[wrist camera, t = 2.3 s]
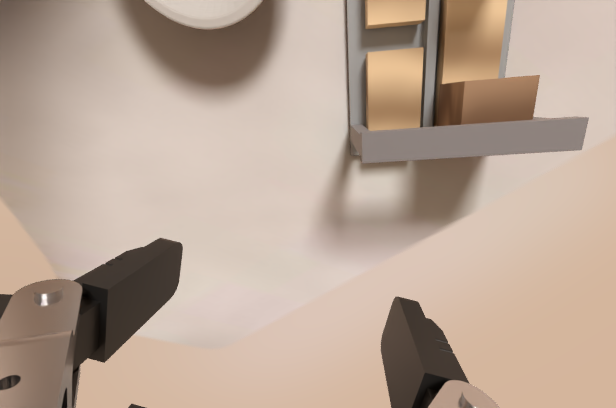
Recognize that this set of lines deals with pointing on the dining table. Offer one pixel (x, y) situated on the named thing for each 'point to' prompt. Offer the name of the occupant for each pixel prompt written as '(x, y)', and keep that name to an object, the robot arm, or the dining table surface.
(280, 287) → the dining table surface
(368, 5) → the light wood block
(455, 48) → the strip
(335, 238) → the dining table surface
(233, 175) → the dining table surface
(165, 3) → the dish
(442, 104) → the walnut block
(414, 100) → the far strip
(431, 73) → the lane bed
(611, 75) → the dining table surface
